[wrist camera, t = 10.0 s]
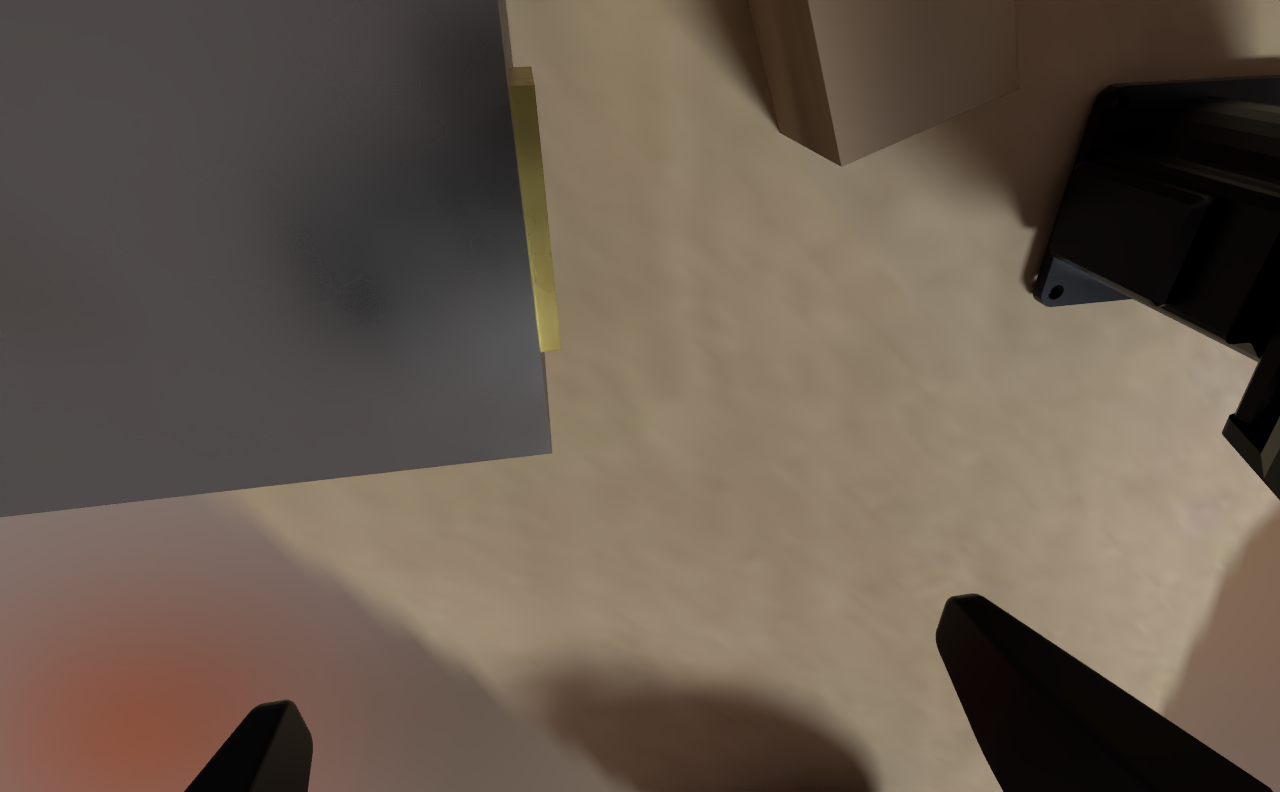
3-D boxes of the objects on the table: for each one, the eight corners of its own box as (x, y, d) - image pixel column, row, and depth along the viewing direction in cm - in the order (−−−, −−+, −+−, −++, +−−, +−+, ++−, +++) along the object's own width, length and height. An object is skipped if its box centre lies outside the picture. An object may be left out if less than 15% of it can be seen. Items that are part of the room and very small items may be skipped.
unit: (519, -41, 14) (521, -61, 9) (555, 307, 19) (572, 450, 13) (-2, -29, 13) (-418, -42, 7) (170, 341, 18) (-2, 517, 12)
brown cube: (898, -111, 15) (1009, -139, 12) (920, 68, 17) (1018, 88, 14) (737, -35, 15) (799, -41, 12) (778, 132, 17) (841, 166, 14)
